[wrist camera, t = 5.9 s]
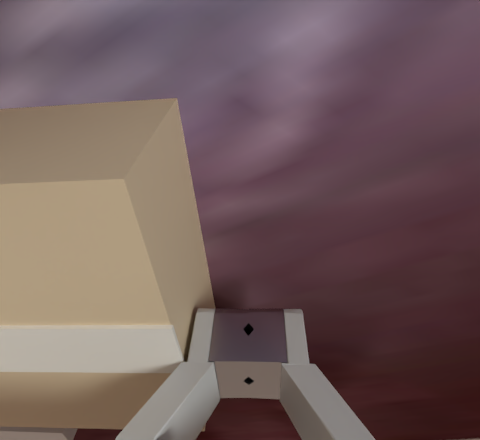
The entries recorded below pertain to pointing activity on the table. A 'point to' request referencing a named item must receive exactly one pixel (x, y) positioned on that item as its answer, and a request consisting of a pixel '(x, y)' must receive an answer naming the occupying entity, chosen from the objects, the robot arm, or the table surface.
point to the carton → (95, 261)
